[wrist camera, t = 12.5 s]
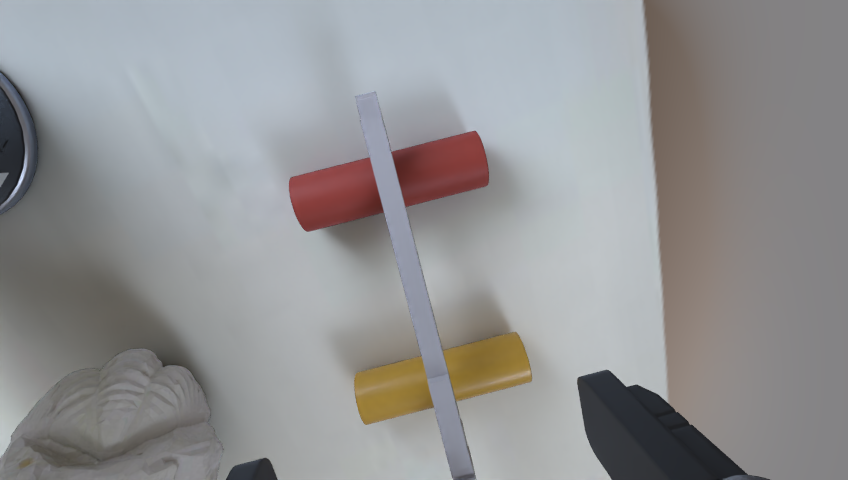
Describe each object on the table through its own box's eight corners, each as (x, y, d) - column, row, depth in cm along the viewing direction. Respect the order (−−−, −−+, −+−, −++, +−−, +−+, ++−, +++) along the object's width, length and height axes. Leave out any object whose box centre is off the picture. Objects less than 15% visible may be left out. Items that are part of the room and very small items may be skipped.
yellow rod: (370, 404, 26) (366, 436, 23) (357, 363, 25) (351, 390, 22) (520, 365, 26) (535, 392, 23) (511, 323, 25) (525, 345, 22)
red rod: (314, 226, 23) (302, 237, 20) (298, 175, 23) (283, 178, 20) (481, 183, 23) (492, 188, 20) (469, 132, 23) (480, 128, 20)
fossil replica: (216, 320, 24) (63, 347, 25) (102, 392, 16) (-123, 429, 17) (264, 498, 26) (119, 518, 26) (182, 646, 18) (-26, 670, 18)
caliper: (470, 448, 23) (495, 552, 17) (452, 453, 23) (471, 559, 17) (375, 92, 19) (365, 61, 13) (354, 97, 19) (332, 70, 13)
